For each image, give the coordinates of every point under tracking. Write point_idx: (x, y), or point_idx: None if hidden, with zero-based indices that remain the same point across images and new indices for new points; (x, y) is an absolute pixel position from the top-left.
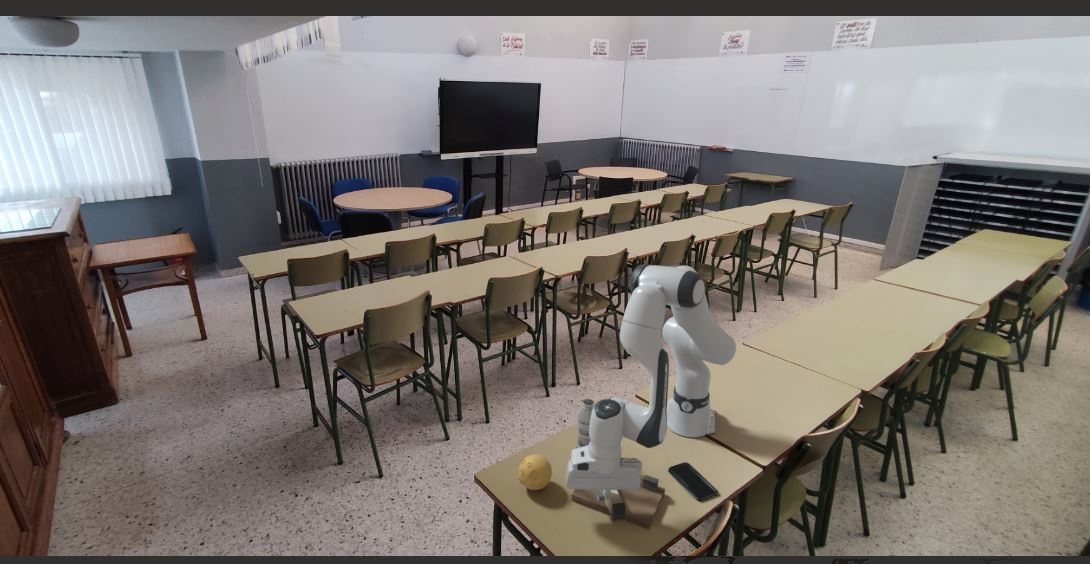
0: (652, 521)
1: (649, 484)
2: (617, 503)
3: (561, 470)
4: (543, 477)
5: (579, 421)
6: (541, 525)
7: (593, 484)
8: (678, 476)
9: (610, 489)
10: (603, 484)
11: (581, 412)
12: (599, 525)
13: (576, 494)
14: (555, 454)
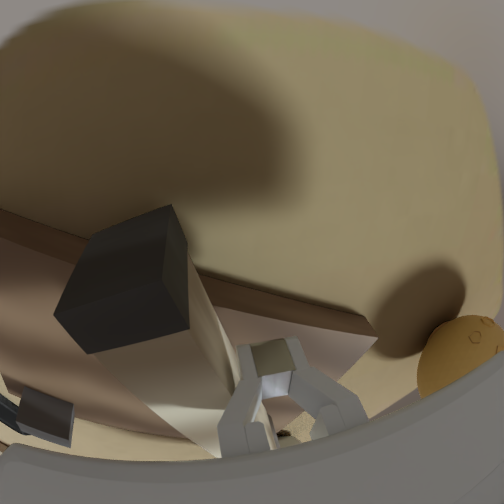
0: None
1: (44, 416)
2: (136, 340)
3: None
4: (480, 361)
5: None
6: (482, 183)
7: (415, 460)
8: (14, 412)
9: (229, 462)
10: (323, 500)
11: None
12: (262, 187)
13: (360, 342)
14: None
